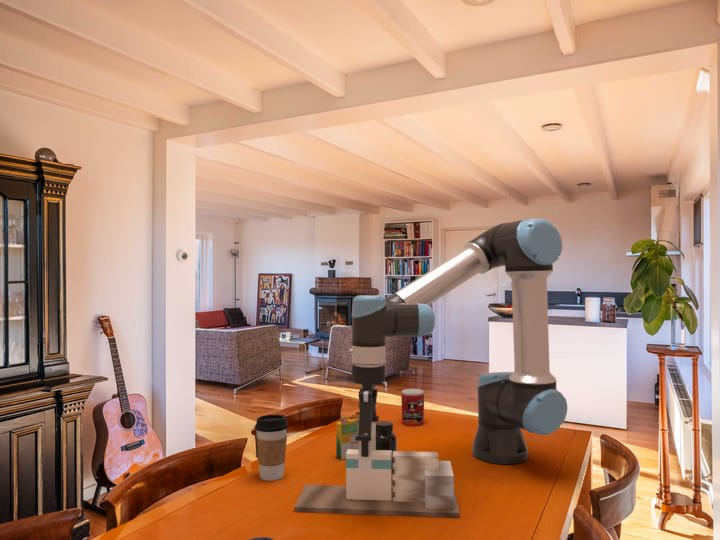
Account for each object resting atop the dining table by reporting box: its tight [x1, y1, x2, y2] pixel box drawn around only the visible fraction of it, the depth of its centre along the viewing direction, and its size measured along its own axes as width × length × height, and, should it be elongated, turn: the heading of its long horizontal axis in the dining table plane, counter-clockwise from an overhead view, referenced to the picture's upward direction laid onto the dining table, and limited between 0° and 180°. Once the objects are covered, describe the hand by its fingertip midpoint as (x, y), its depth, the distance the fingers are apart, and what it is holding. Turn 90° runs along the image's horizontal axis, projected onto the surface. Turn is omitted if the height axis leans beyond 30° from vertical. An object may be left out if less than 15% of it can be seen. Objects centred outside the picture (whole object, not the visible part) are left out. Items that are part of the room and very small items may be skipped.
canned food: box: [400, 388, 425, 427], centre depth 177 cm, size 8×8×11 cm
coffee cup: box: [254, 414, 289, 482], centre depth 130 cm, size 8×8×15 cm
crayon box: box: [335, 414, 363, 461], centre depth 145 cm, size 7×3×12 cm, turn 123°
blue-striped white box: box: [345, 449, 393, 501], centre depth 115 cm, size 10×3×10 cm, turn 85°
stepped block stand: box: [293, 450, 461, 519], centre depth 115 cm, size 35×12×11 cm, turn 85°
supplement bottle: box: [376, 420, 398, 473], centre depth 135 cm, size 7×7×12 cm
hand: (367, 459), depth 115 cm, fingers open, 13 cm apart
